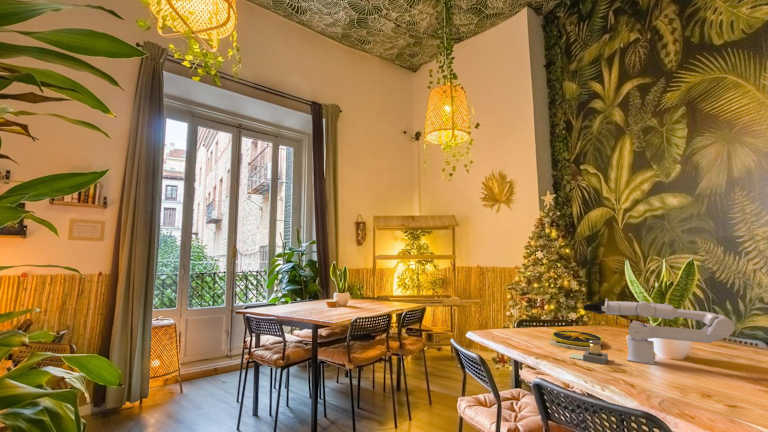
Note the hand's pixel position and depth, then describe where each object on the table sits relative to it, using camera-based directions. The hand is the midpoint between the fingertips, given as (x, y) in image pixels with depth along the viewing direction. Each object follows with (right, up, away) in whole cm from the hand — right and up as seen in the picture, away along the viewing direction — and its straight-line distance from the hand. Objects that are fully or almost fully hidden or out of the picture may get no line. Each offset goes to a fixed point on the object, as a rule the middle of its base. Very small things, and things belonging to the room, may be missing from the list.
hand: (585, 306), depth 177 cm
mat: (-8, -20, -9) cm, 23 cm away
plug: (-2, -20, -13) cm, 24 cm away
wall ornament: (+4, -22, +16) cm, 28 cm away
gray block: (-2, -20, -13) cm, 24 cm away
